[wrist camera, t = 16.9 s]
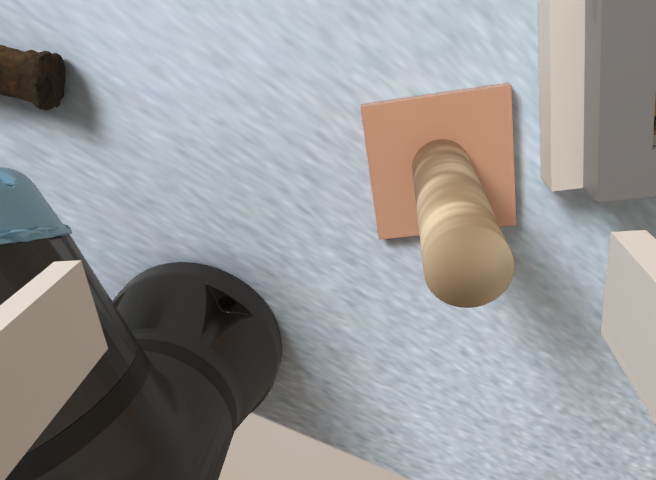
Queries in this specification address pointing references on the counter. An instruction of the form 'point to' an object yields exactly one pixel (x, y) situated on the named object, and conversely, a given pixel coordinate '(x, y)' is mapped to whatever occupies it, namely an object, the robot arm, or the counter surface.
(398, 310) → the counter surface
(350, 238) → the counter surface
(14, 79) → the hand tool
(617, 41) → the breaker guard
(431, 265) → the wooden cylinder
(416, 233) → the rest tile
